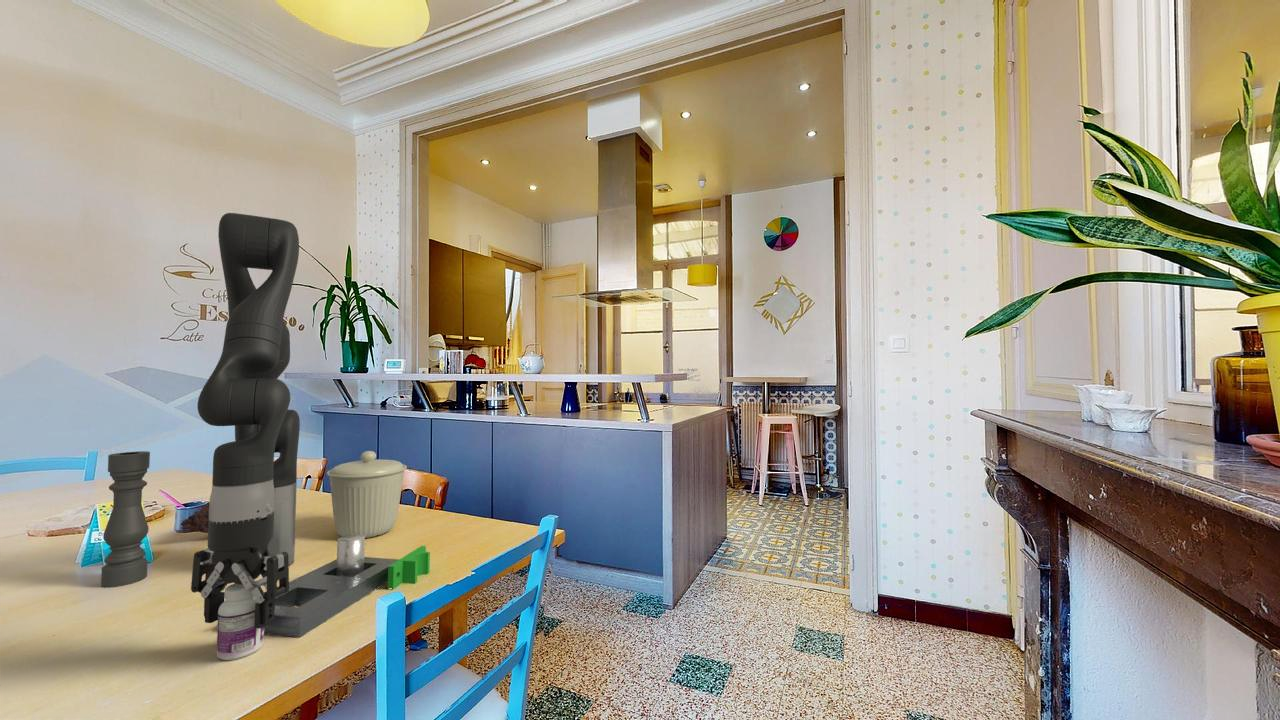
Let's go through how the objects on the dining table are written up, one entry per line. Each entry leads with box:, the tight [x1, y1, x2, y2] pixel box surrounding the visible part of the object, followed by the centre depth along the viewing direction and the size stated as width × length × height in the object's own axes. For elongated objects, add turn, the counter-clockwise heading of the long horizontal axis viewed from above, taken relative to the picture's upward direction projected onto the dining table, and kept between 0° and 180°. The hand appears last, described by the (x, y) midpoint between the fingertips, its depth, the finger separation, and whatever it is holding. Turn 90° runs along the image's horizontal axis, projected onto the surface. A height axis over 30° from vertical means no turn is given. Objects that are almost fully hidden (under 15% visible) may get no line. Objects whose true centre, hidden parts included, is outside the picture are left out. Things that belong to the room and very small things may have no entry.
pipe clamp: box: [387, 545, 431, 591], centre depth 97 cm, size 11×4×5 cm, turn 174°
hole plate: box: [264, 556, 400, 638], centre depth 87 cm, size 13×24×3 cm, turn 171°
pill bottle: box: [216, 579, 265, 661], centre depth 71 cm, size 5×5×10 cm
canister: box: [326, 450, 408, 539], centre depth 124 cm, size 18×18×21 cm
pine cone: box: [180, 502, 209, 534], centre depth 121 cm, size 18×10×10 cm, turn 143°
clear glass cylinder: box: [336, 534, 366, 577], centre depth 93 cm, size 5×5×9 cm
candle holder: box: [100, 450, 151, 588], centre depth 95 cm, size 6×6×25 cm
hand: (238, 623), depth 70 cm, fingers open, 8 cm apart
